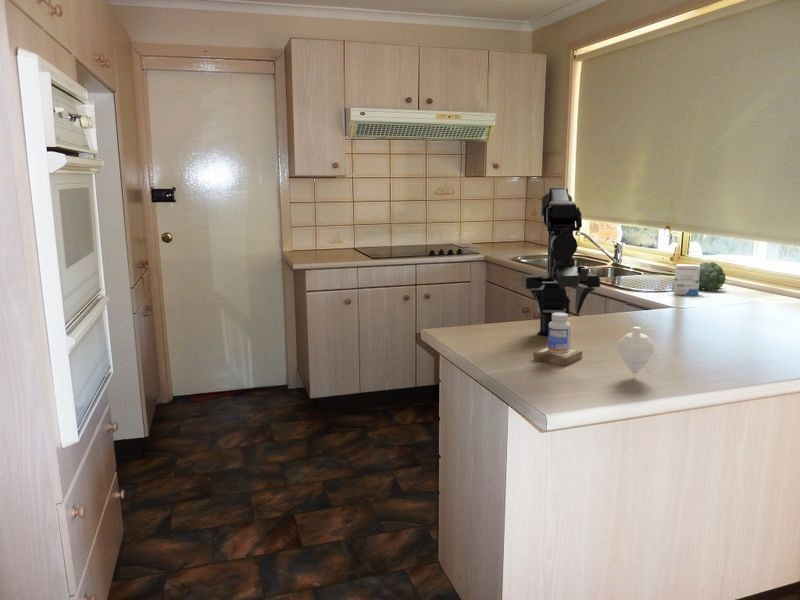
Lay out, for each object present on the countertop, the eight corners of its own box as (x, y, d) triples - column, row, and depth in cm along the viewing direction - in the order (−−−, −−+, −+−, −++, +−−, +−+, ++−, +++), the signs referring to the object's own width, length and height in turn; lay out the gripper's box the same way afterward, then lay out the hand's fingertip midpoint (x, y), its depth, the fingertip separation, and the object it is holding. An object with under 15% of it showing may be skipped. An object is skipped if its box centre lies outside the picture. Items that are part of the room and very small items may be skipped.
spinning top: (610, 377, 144) (613, 327, 142) (626, 370, 149) (628, 322, 147) (642, 385, 139) (646, 332, 136) (657, 377, 144) (660, 326, 142)
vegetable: (739, 285, 251) (722, 272, 243) (712, 304, 258) (694, 292, 249) (724, 265, 260) (706, 251, 251) (698, 284, 266) (679, 271, 258)
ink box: (698, 294, 246) (701, 264, 244) (697, 296, 242) (699, 266, 239) (675, 292, 250) (677, 263, 248) (673, 294, 246) (675, 264, 244)
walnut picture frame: (533, 359, 159) (533, 351, 159) (550, 352, 166) (550, 344, 166) (565, 366, 154) (565, 357, 153) (581, 358, 160) (582, 350, 160)
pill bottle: (553, 347, 163) (554, 310, 161) (572, 350, 160) (574, 313, 158) (543, 351, 159) (545, 314, 157) (563, 354, 156) (564, 317, 154)
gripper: (532, 257, 146) (531, 322, 149) (610, 256, 147) (607, 320, 150) (521, 252, 157) (519, 313, 160) (593, 251, 158) (590, 311, 161)
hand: (559, 314), depth 157 cm, fingers open, 9 cm apart
